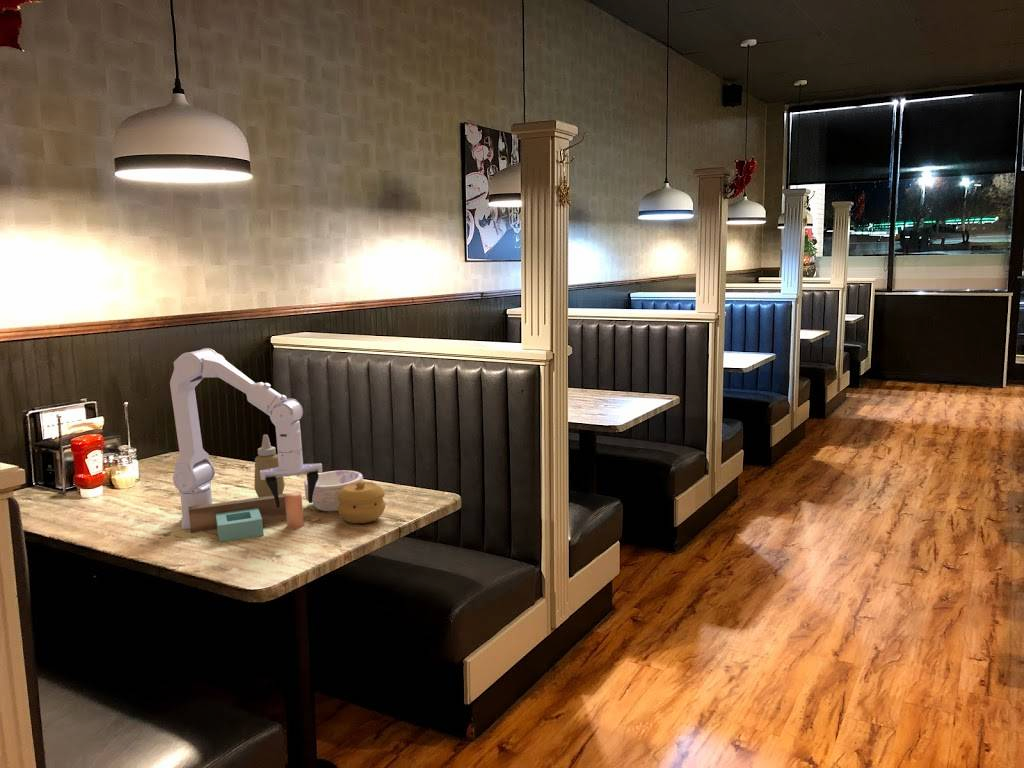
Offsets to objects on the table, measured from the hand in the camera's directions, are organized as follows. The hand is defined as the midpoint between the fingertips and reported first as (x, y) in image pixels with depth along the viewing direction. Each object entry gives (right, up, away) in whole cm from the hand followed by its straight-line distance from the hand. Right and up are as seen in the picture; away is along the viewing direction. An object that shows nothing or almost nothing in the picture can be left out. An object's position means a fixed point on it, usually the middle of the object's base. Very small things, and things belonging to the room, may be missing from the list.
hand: (294, 504), depth 205 cm
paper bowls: (+7, -3, +16) cm, 18 cm away
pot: (+16, -5, +4) cm, 17 cm away
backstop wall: (-14, -6, +4) cm, 15 cm away
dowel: (0, -6, +1) cm, 6 cm away
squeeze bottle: (-13, -2, +25) cm, 28 cm away
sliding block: (-12, -6, -3) cm, 14 cm away
